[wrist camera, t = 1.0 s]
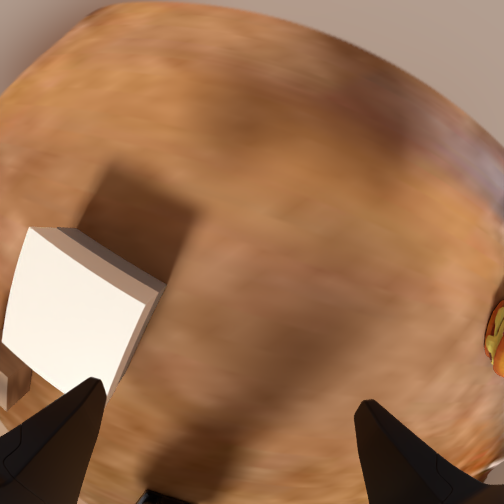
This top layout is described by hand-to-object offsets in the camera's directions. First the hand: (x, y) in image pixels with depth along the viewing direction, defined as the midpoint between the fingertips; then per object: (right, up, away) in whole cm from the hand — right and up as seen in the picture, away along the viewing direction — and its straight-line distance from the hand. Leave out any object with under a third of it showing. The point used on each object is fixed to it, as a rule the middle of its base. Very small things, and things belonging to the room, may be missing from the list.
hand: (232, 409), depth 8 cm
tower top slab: (-11, +1, +9) cm, 14 cm away
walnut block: (-24, -6, +11) cm, 27 cm away
